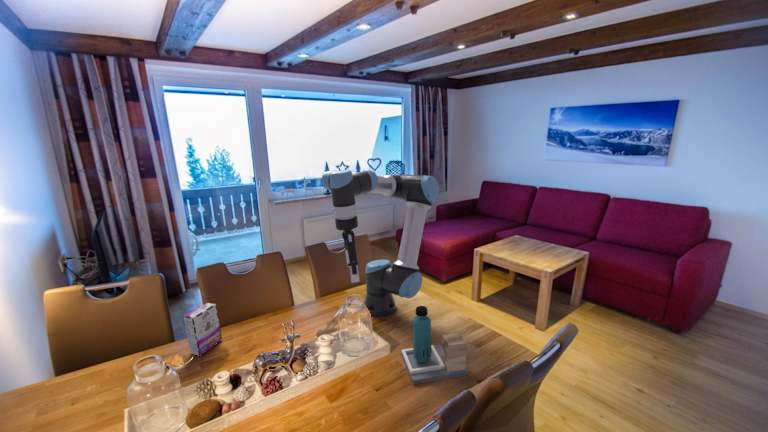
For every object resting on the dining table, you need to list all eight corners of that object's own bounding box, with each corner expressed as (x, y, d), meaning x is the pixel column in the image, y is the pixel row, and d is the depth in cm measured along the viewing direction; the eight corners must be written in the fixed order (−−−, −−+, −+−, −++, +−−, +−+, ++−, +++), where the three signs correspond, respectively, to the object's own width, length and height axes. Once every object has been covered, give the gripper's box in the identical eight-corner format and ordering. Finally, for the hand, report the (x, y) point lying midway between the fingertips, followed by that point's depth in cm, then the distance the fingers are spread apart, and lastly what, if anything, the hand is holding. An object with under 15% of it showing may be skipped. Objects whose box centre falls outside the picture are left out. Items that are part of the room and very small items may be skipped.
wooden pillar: (441, 360, 116) (442, 335, 114) (458, 358, 117) (458, 332, 115) (448, 372, 110) (448, 345, 108) (465, 369, 111) (466, 342, 109)
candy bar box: (213, 338, 136) (207, 302, 132) (222, 340, 134) (217, 303, 131) (189, 355, 125) (182, 315, 122) (199, 357, 124) (192, 317, 120)
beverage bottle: (422, 368, 112) (422, 315, 108) (408, 359, 117) (408, 307, 113) (435, 360, 116) (435, 308, 112) (421, 351, 121) (421, 301, 117)
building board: (401, 354, 122) (400, 348, 122) (449, 346, 126) (449, 340, 125) (413, 384, 107) (413, 377, 107) (467, 375, 111) (468, 368, 110)
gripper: (332, 209, 123) (339, 262, 129) (337, 228, 100) (346, 291, 106) (352, 207, 125) (358, 258, 131) (362, 225, 101) (369, 287, 107)
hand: (353, 273), depth 118 cm, fingers open, 13 cm apart
